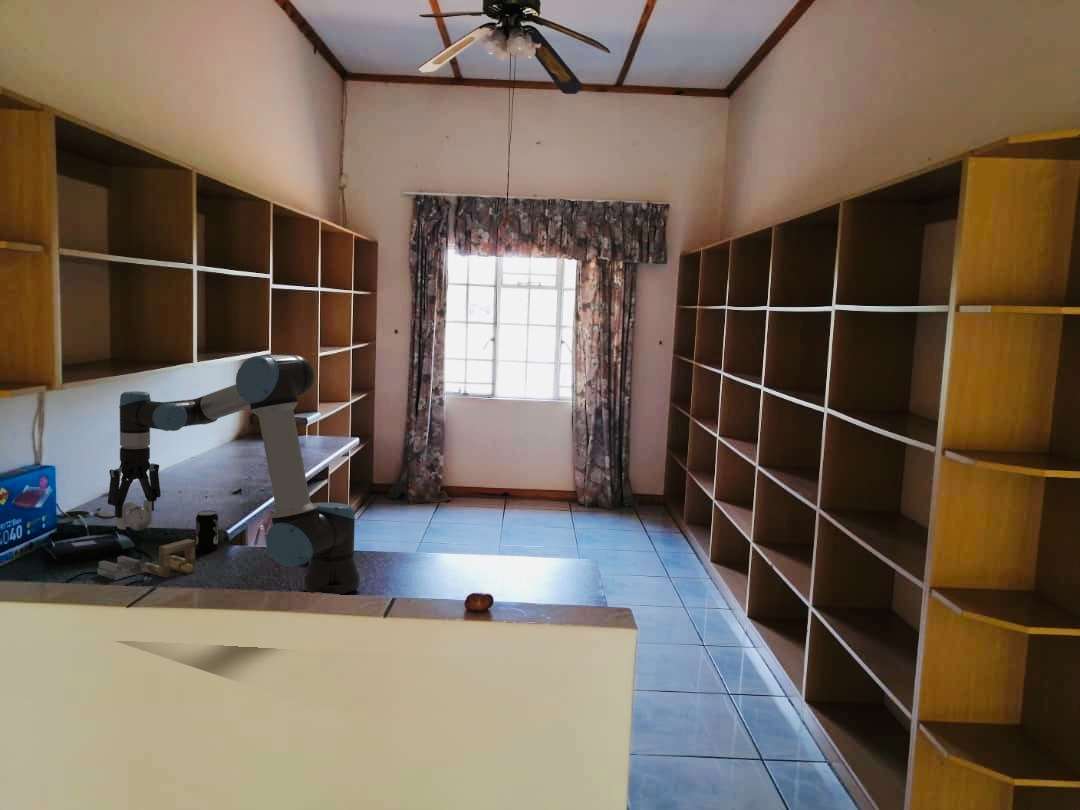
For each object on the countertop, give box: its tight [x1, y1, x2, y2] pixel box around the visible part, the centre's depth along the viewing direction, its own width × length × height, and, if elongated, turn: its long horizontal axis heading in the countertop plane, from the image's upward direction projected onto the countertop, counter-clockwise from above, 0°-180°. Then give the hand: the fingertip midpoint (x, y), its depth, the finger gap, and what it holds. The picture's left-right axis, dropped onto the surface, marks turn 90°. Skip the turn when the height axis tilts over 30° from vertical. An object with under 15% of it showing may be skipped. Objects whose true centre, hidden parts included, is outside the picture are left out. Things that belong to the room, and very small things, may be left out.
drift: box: [170, 560, 196, 575], centre depth 225 cm, size 10×3×3 cm
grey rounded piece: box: [123, 502, 151, 531], centre depth 218 cm, size 9×6×6 cm, turn 44°
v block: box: [97, 555, 143, 581], centre depth 219 cm, size 8×8×4 cm
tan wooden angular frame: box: [143, 538, 196, 579], centre depth 224 cm, size 10×10×9 cm
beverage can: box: [195, 509, 219, 552], centre depth 246 cm, size 7×7×12 cm
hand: (134, 525), depth 218 cm, fingers closed on grey rounded piece, 7 cm apart
